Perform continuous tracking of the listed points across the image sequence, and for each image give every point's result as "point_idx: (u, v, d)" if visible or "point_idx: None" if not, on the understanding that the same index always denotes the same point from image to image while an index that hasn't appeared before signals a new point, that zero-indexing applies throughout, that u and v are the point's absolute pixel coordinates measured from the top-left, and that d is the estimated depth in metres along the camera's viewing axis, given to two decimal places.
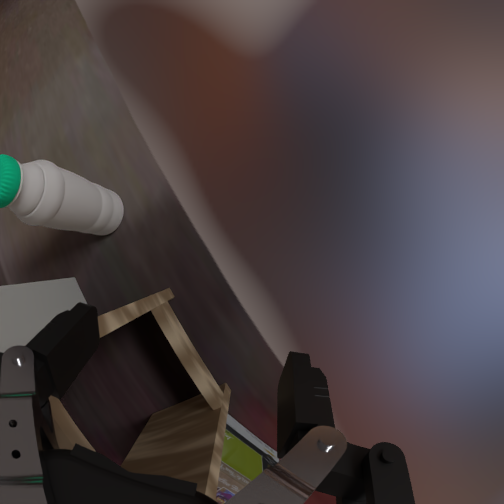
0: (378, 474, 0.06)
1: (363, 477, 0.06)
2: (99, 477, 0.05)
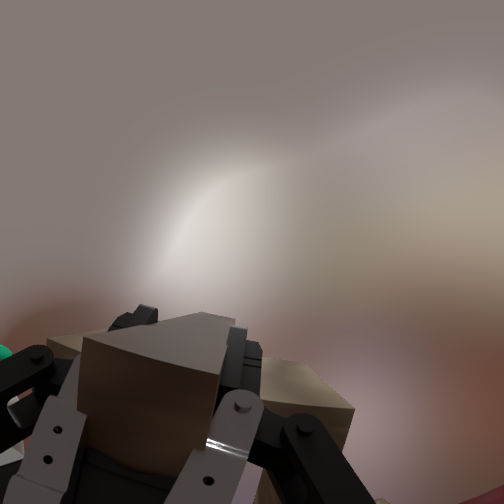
0: (301, 447, 0.07)
1: (278, 446, 0.07)
2: (99, 477, 0.05)
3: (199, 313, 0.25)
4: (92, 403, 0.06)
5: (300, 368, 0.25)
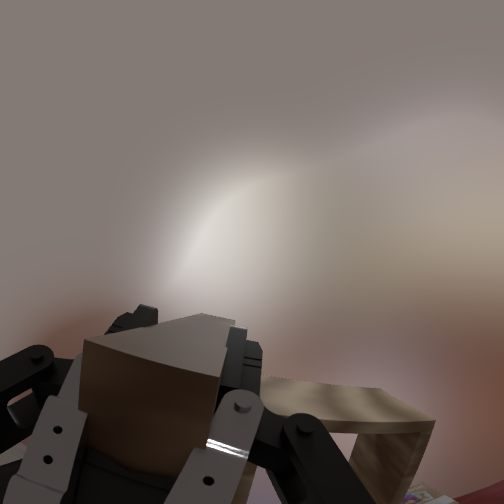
0: (301, 447, 0.07)
1: (279, 446, 0.07)
2: (99, 477, 0.05)
3: (199, 314, 0.25)
4: (94, 406, 0.06)
5: (384, 394, 0.32)
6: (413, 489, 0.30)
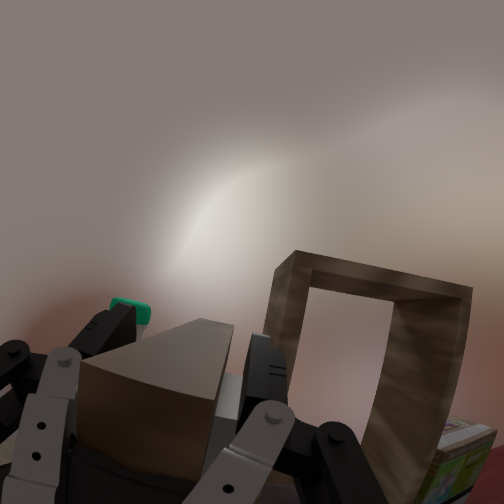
0: (330, 455, 0.06)
1: (311, 455, 0.07)
2: (99, 477, 0.05)
3: (198, 320, 0.24)
4: (92, 424, 0.06)
5: None
6: None
